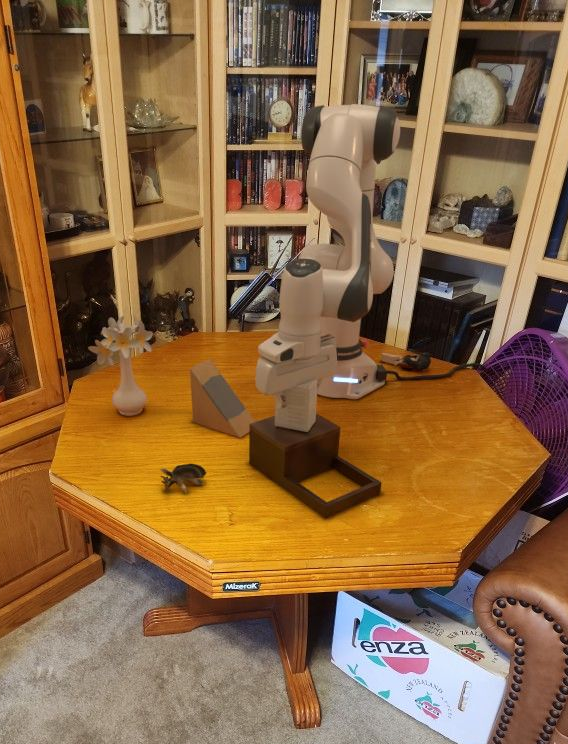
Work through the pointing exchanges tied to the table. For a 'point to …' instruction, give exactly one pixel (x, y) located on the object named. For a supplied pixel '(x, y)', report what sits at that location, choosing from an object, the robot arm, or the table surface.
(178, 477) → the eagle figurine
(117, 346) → the flower vase
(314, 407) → the small box
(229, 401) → the sandwich container
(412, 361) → the toy figure
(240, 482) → the table surface
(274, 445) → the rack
